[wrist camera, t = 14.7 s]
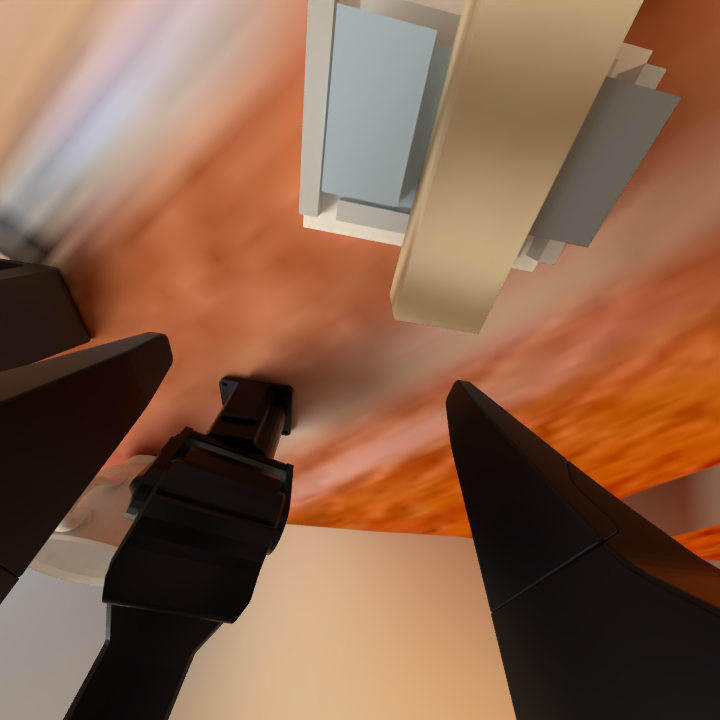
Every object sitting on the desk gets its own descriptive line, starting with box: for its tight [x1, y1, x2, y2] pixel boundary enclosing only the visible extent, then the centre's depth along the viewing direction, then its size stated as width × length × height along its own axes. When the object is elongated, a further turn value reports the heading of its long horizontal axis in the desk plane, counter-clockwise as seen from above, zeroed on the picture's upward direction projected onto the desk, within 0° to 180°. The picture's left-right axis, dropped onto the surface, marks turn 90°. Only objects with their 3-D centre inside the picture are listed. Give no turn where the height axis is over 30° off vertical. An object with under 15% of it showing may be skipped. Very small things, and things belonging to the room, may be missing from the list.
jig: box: [299, 0, 667, 272], centre depth 14 cm, size 15×10×2 cm, turn 80°
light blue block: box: [321, 3, 682, 247], centre depth 12 cm, size 12×5×5 cm, turn 80°
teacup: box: [28, 455, 156, 587], centre depth 28 cm, size 12×15×10 cm
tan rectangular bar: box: [390, 0, 644, 334], centre depth 10 cm, size 14×4×3 cm, turn 170°
